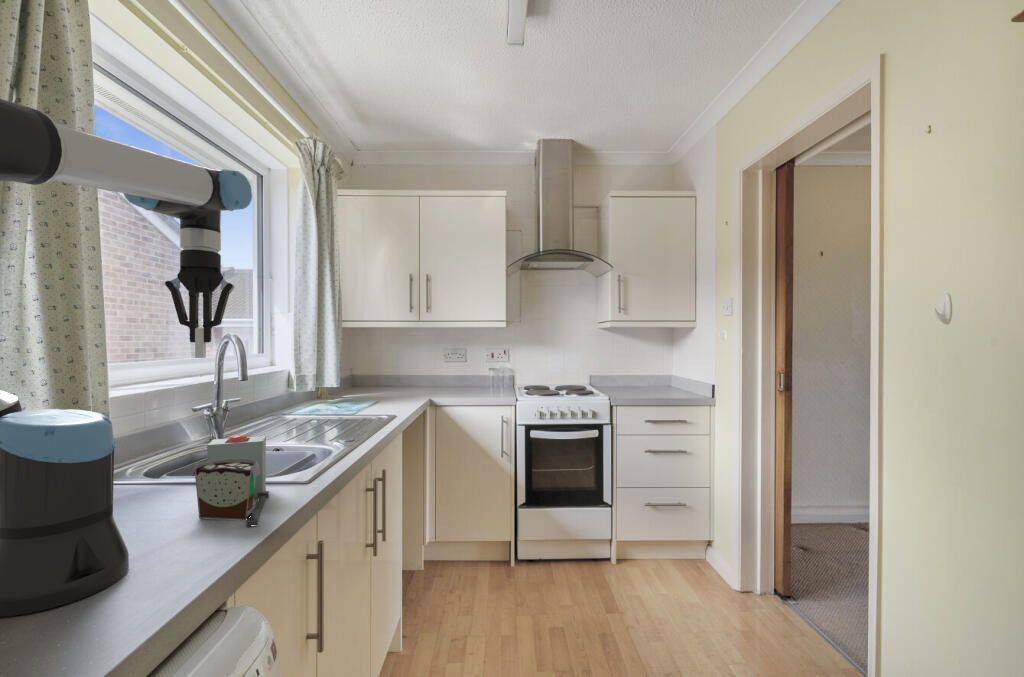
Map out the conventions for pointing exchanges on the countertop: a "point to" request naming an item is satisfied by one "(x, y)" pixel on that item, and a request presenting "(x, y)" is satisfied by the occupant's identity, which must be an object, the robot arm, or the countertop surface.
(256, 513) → the guide rail
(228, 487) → the food container
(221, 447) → the cabinet
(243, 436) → the button
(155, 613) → the countertop surface
